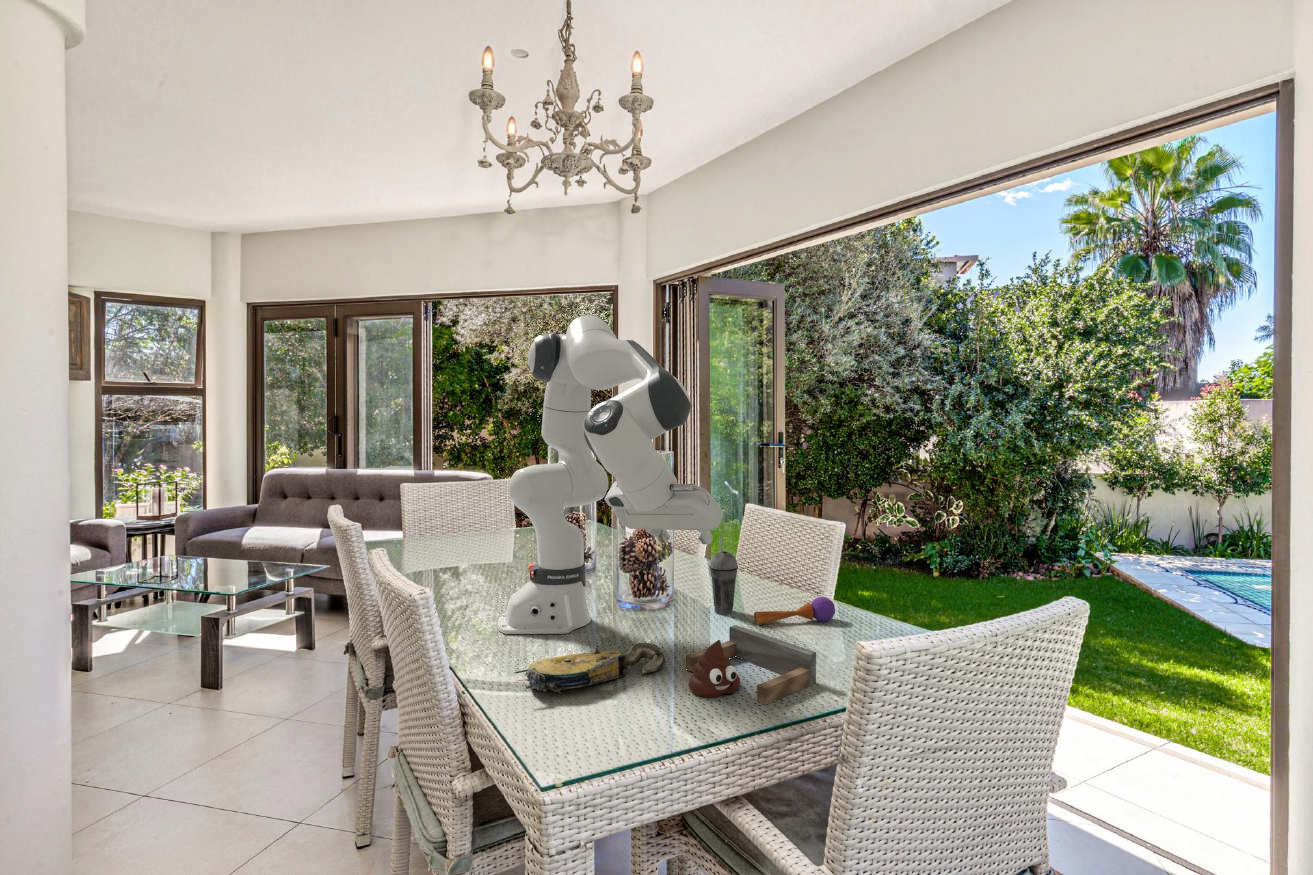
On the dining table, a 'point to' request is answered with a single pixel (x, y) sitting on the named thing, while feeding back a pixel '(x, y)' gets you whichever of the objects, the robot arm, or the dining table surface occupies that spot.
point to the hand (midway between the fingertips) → (686, 540)
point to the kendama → (800, 612)
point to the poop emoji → (714, 674)
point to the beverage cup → (723, 580)
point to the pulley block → (590, 667)
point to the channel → (768, 662)
